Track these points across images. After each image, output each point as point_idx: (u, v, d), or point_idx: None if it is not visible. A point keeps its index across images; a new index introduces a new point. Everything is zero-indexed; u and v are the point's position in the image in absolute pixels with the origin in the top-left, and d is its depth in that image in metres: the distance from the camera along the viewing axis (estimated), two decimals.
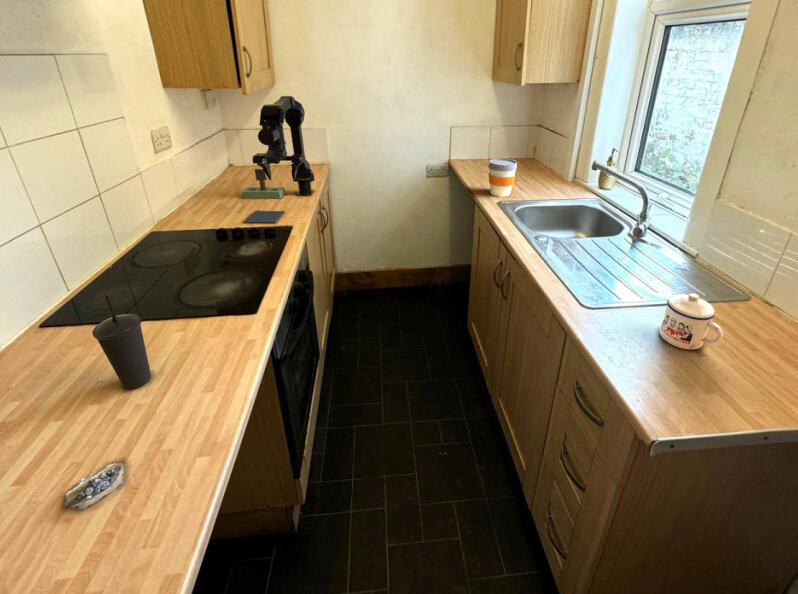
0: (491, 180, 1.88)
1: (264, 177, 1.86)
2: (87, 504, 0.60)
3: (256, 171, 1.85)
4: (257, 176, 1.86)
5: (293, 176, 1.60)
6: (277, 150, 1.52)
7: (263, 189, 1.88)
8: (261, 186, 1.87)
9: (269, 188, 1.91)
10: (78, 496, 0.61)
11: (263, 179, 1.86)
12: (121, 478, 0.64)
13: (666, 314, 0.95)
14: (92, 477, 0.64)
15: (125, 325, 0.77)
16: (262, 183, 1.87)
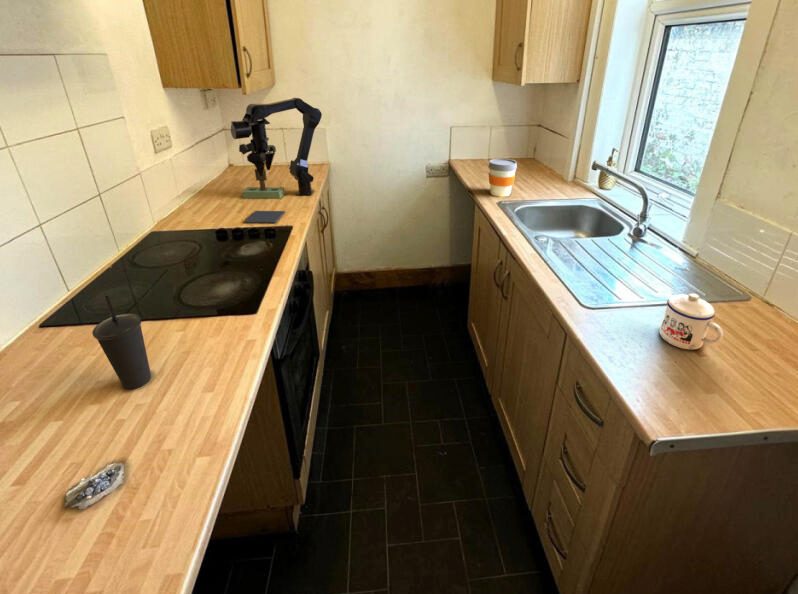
0: (491, 180, 1.88)
1: (264, 177, 1.86)
2: (87, 504, 0.60)
3: (256, 171, 1.85)
4: (257, 176, 1.86)
5: None
6: (248, 144, 1.71)
7: (263, 189, 1.88)
8: (261, 186, 1.87)
9: (269, 188, 1.91)
10: (78, 496, 0.61)
11: (263, 179, 1.86)
12: (121, 478, 0.64)
13: (666, 314, 0.95)
14: (92, 477, 0.64)
15: (125, 325, 0.77)
16: (262, 183, 1.87)
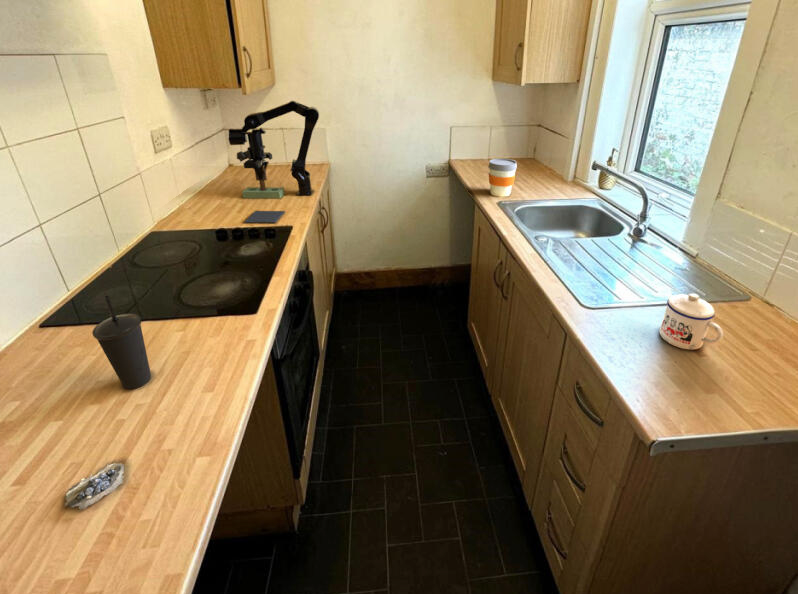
0: (491, 180, 1.88)
1: (264, 177, 1.86)
2: (87, 504, 0.60)
3: None
4: (257, 176, 1.86)
5: None
6: (245, 151, 1.81)
7: (263, 189, 1.88)
8: (261, 186, 1.87)
9: (269, 188, 1.91)
10: (78, 496, 0.61)
11: (263, 179, 1.86)
12: (121, 478, 0.64)
13: (666, 314, 0.95)
14: (92, 477, 0.64)
15: (125, 325, 0.77)
16: (262, 183, 1.87)
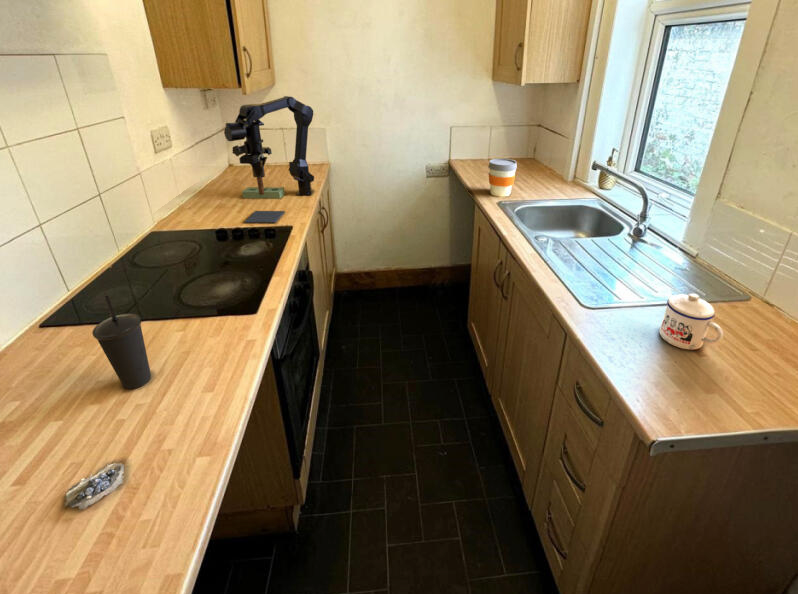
0: (491, 180, 1.88)
1: (262, 174, 1.72)
2: (87, 504, 0.60)
3: None
4: (254, 172, 1.72)
5: None
6: (242, 145, 1.67)
7: (261, 187, 1.74)
8: (259, 183, 1.74)
9: (269, 188, 1.91)
10: (78, 496, 0.61)
11: (261, 176, 1.73)
12: (121, 478, 0.64)
13: (666, 314, 0.95)
14: (92, 477, 0.64)
15: (125, 325, 0.77)
16: (260, 180, 1.73)
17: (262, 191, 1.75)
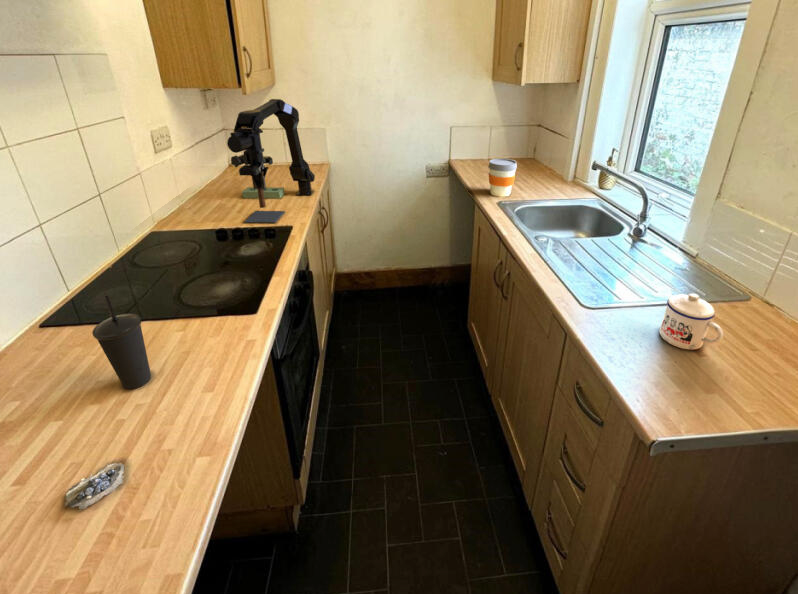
0: (491, 180, 1.88)
1: (263, 185, 1.60)
2: (87, 504, 0.60)
3: None
4: (255, 184, 1.59)
5: None
6: (241, 155, 1.54)
7: (262, 199, 1.62)
8: (259, 196, 1.61)
9: (269, 188, 1.91)
10: (78, 496, 0.61)
11: (262, 187, 1.60)
12: (121, 478, 0.64)
13: (666, 314, 0.95)
14: (92, 477, 0.64)
15: (125, 325, 0.77)
16: (260, 192, 1.61)
17: (263, 204, 1.63)
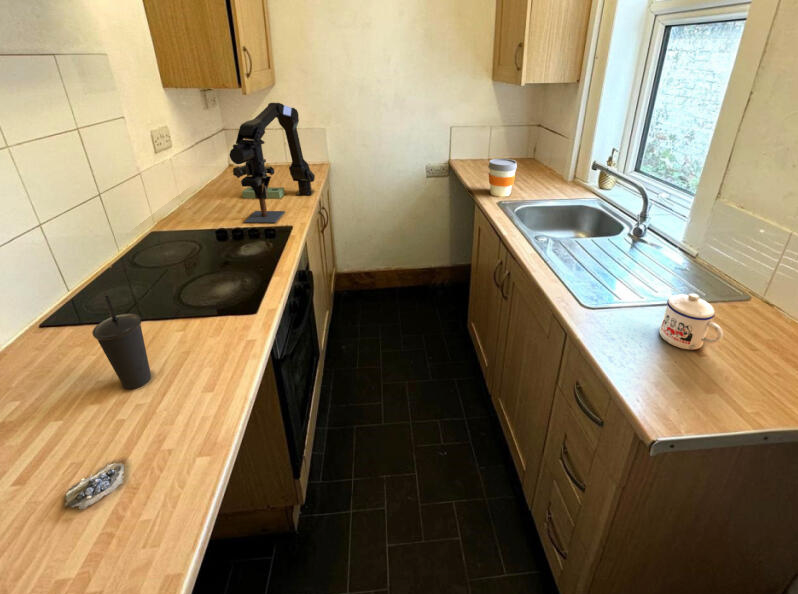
0: (491, 180, 1.88)
1: (265, 195, 1.61)
2: (87, 504, 0.60)
3: None
4: None
5: None
6: (243, 166, 1.56)
7: (263, 208, 1.63)
8: (261, 205, 1.63)
9: (269, 188, 1.91)
10: (78, 496, 0.61)
11: (263, 197, 1.61)
12: (121, 478, 0.64)
13: (666, 314, 0.95)
14: (92, 477, 0.64)
15: (125, 325, 0.77)
16: (262, 202, 1.62)
17: (265, 213, 1.64)
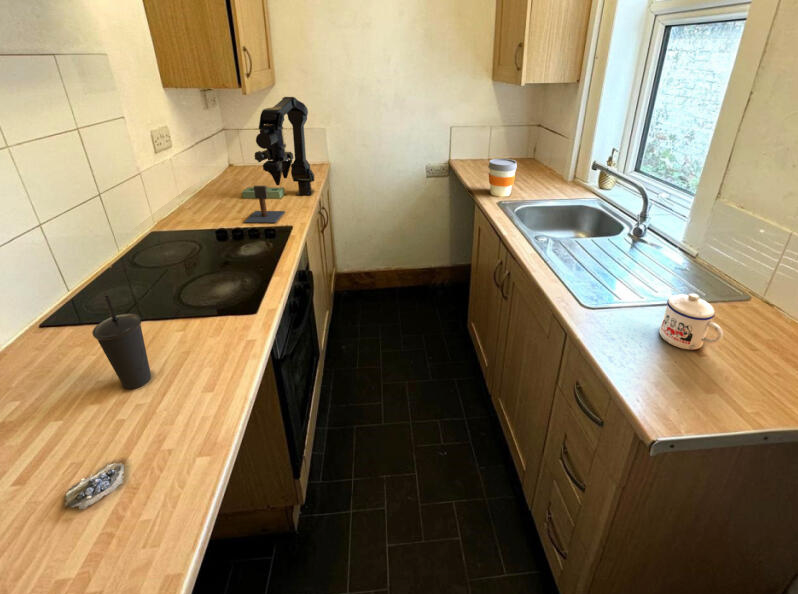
0: (491, 180, 1.88)
1: (265, 195, 1.61)
2: (87, 504, 0.60)
3: (255, 188, 1.60)
4: (256, 194, 1.61)
5: None
6: (264, 151, 1.61)
7: (263, 208, 1.63)
8: (261, 205, 1.63)
9: (269, 188, 1.91)
10: (78, 496, 0.61)
11: (263, 197, 1.61)
12: (121, 478, 0.64)
13: (666, 314, 0.95)
14: (92, 477, 0.64)
15: (125, 325, 0.77)
16: (262, 202, 1.62)
17: (265, 213, 1.64)
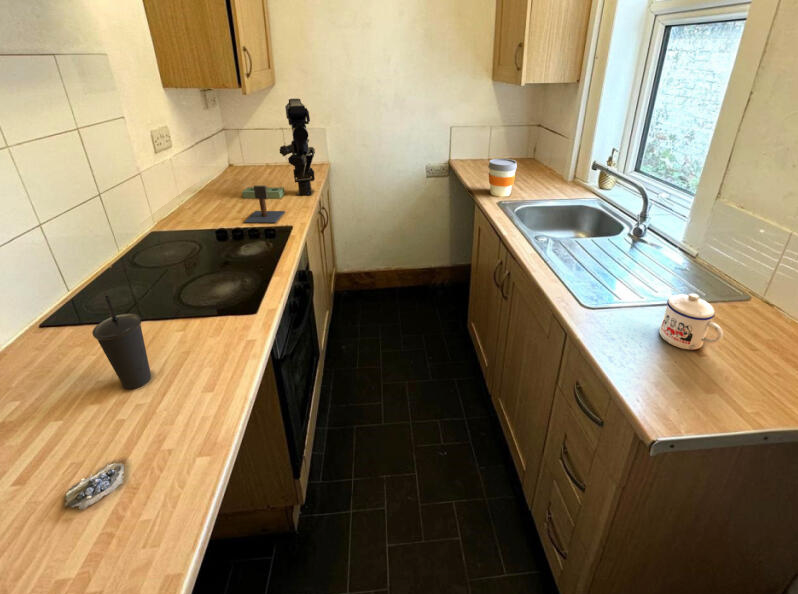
0: (491, 180, 1.88)
1: (265, 195, 1.61)
2: (87, 504, 0.60)
3: (255, 188, 1.60)
4: (256, 194, 1.61)
5: None
6: (288, 145, 1.68)
7: (263, 208, 1.63)
8: (261, 205, 1.63)
9: (269, 188, 1.91)
10: (78, 496, 0.61)
11: (263, 197, 1.61)
12: (121, 478, 0.64)
13: (666, 314, 0.95)
14: (92, 477, 0.64)
15: (125, 325, 0.77)
16: (262, 202, 1.62)
17: (265, 213, 1.64)
